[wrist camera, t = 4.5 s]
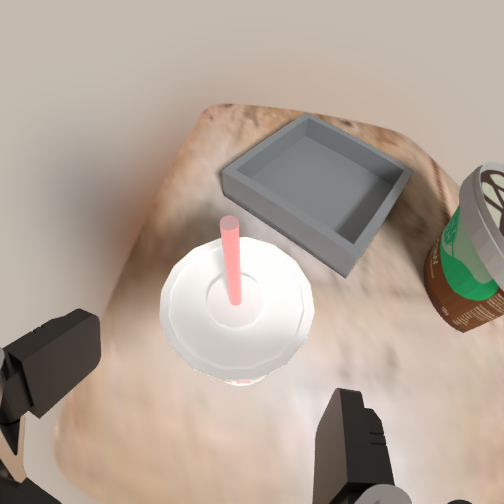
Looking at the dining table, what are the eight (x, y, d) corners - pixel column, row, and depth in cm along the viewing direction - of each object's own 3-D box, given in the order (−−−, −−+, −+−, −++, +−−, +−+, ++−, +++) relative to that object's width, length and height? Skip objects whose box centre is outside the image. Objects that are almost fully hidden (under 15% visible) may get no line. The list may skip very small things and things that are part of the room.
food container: (416, 212, 26) (461, 134, 17) (465, 234, 25) (517, 166, 16) (402, 328, 20) (483, 262, 11) (461, 349, 19) (548, 297, 10)
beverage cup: (290, 315, 21) (346, 157, 9) (281, 402, 17) (355, 365, 5) (204, 303, 21) (155, 140, 9) (187, 388, 18) (75, 317, 6)
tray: (402, 191, 27) (413, 170, 25) (345, 278, 22) (357, 258, 20) (302, 134, 31) (306, 112, 29) (223, 195, 26) (221, 170, 24)
